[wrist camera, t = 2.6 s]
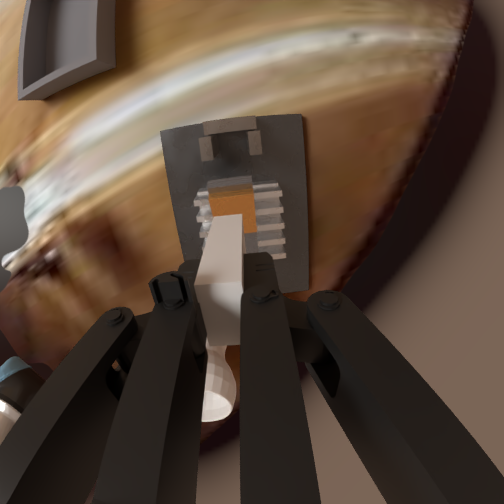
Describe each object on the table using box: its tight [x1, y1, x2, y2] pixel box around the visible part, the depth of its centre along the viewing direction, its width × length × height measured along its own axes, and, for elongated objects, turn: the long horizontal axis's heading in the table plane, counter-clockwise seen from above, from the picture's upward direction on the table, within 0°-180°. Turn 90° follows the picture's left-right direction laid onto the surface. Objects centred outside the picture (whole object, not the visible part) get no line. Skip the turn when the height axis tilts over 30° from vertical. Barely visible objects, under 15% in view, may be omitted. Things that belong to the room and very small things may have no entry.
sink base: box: [160, 114, 309, 293], centre depth 33 cm, size 26×18×9 cm
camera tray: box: [18, 0, 116, 100], centre depth 20 cm, size 14×21×6 cm
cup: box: [202, 339, 236, 422], centre depth 40 cm, size 11×11×15 cm
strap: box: [207, 175, 258, 254], centre depth 27 cm, size 23×3×2 cm, turn 6°
